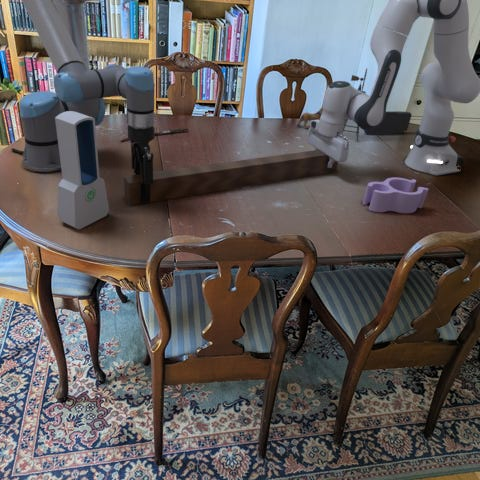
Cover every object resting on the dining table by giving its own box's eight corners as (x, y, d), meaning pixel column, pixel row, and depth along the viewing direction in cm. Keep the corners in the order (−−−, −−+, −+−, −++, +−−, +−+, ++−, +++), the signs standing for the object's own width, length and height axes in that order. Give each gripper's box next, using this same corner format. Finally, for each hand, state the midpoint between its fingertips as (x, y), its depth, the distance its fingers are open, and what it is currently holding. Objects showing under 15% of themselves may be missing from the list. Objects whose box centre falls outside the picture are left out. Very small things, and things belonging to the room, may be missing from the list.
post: (129, 205, 141) (128, 183, 137) (124, 197, 145) (123, 175, 141) (336, 171, 177) (340, 153, 173) (328, 166, 181) (332, 147, 177)
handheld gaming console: (403, 131, 225) (409, 110, 219) (406, 133, 222) (412, 112, 217) (362, 132, 217) (367, 111, 212) (365, 134, 215) (370, 113, 210)
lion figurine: (321, 124, 222) (325, 105, 217) (326, 128, 218) (330, 109, 213) (293, 125, 217) (296, 106, 212) (298, 129, 213) (302, 110, 208)
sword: (184, 128, 200) (184, 125, 199) (188, 130, 198) (188, 128, 197) (117, 141, 184) (116, 138, 183) (120, 143, 182) (120, 140, 181)
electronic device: (76, 231, 126) (63, 124, 110) (57, 222, 129) (42, 116, 113) (110, 214, 135) (103, 112, 119) (91, 206, 138) (82, 105, 122)
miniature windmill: (357, 141, 207) (374, 71, 190) (338, 138, 208) (353, 69, 191) (357, 134, 214) (373, 67, 198) (339, 132, 215) (353, 64, 199)
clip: (376, 216, 149) (381, 197, 146) (356, 198, 159) (361, 179, 155) (427, 211, 156) (433, 192, 152) (405, 194, 165) (410, 176, 162)
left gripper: (165, 135, 128) (164, 209, 140) (143, 113, 140) (144, 183, 153) (138, 137, 124) (140, 213, 137) (118, 115, 137) (122, 186, 150)
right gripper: (356, 137, 162) (347, 173, 169) (320, 118, 176) (314, 152, 184) (342, 139, 159) (334, 176, 166) (307, 119, 174) (301, 154, 181)
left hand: (142, 197), depth 145 cm, fingers closed on post, 5 cm apart
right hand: (323, 163), depth 175 cm, fingers closed on post, 5 cm apart
